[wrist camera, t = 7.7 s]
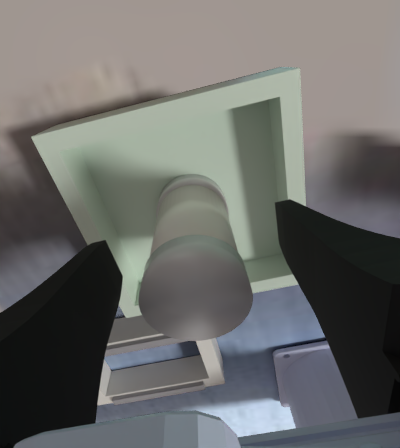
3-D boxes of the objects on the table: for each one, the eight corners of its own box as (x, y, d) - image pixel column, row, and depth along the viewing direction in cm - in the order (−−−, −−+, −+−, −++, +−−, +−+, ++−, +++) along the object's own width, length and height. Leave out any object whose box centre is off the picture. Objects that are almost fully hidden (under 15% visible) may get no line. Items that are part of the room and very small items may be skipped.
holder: (204, 301, 19) (206, 328, 17) (222, 359, 22) (225, 387, 20) (68, 328, 20) (55, 357, 18) (104, 380, 23) (97, 409, 21)
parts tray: (280, 67, 12) (300, 67, 10) (294, 255, 18) (309, 282, 15) (56, 125, 13) (30, 136, 11) (133, 288, 18) (125, 318, 16)
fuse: (220, 167, 14) (247, 247, 8) (229, 228, 16) (257, 332, 10) (150, 181, 14) (123, 268, 8) (167, 239, 16) (154, 347, 10)
